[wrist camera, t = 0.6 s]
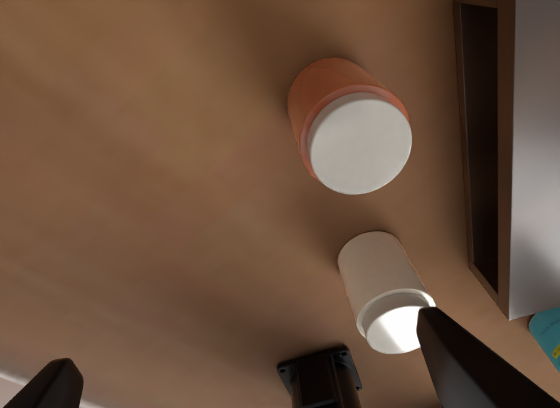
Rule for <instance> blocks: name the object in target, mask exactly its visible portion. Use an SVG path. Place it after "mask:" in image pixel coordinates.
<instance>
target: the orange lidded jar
mask: <svg viewBox="0 0 560 408" xmlns="http://www.w3.org/2000/svg"><path fill="white" fill-rule="evenodd" d="M287 110H288V115H289V119H290V122H291V125H292V129H293V132H294V135H295V139H296V142H297V145H298V149H299V152H300V155H301V159H302V161H303V163H304V165H305V167H306V169H307V170H308V171H309V173H310V174H311V175H312V176H313V177H314V178H315V179H317V180H318V181H320V182H321V183H323V184H324V185H325V186H327V187H328V188H330V189H332V190H334V191H336V192H339V193H343V194H351V195H355V194H364V193H368V192H372V191H374V190H377V189H379V188H381V187H383V186H384V185H386V184H387V183H389V182H390V181H391V180H392V179H394V178H395V177H396V176H397V175H398V173H399V172H400V171H401V170H402V168H403V167H404V165H405V163H406V161H407V159H408V157H409V154H410V151H411V145H412V133H411V128H410V121H409V117H408V114H407V111H406V109H405V107H404V105H403V103H402V102H401V101H400V100H399V98H398V97H396V96H395V95H394V94H393V93H392V92H391V91H389V90H388V89H387V88H386V87H385V86H383V85H382V84H381V83H380V82H378V81H377V80H376V79H375V78H374V77H372V76H371V75H370V74H369V73H367V72H366V71H365V70H364V69H362V68H361V67H360V66H359V65H357V64H356V63H354V62H352V61H350V60H348V59H344V58H338V57H331V58H324V59H321V60H318V61H316V62H314V63H312V64H310V65H309V66H307V67H306V68H305V69H303V70H302V71H301V72H300V73H299V75H298V76H297V77H296V79H295V80H294V82H293V84H292V86H291V88H290V91H289V94H288V100H287Z"/></svg>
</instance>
